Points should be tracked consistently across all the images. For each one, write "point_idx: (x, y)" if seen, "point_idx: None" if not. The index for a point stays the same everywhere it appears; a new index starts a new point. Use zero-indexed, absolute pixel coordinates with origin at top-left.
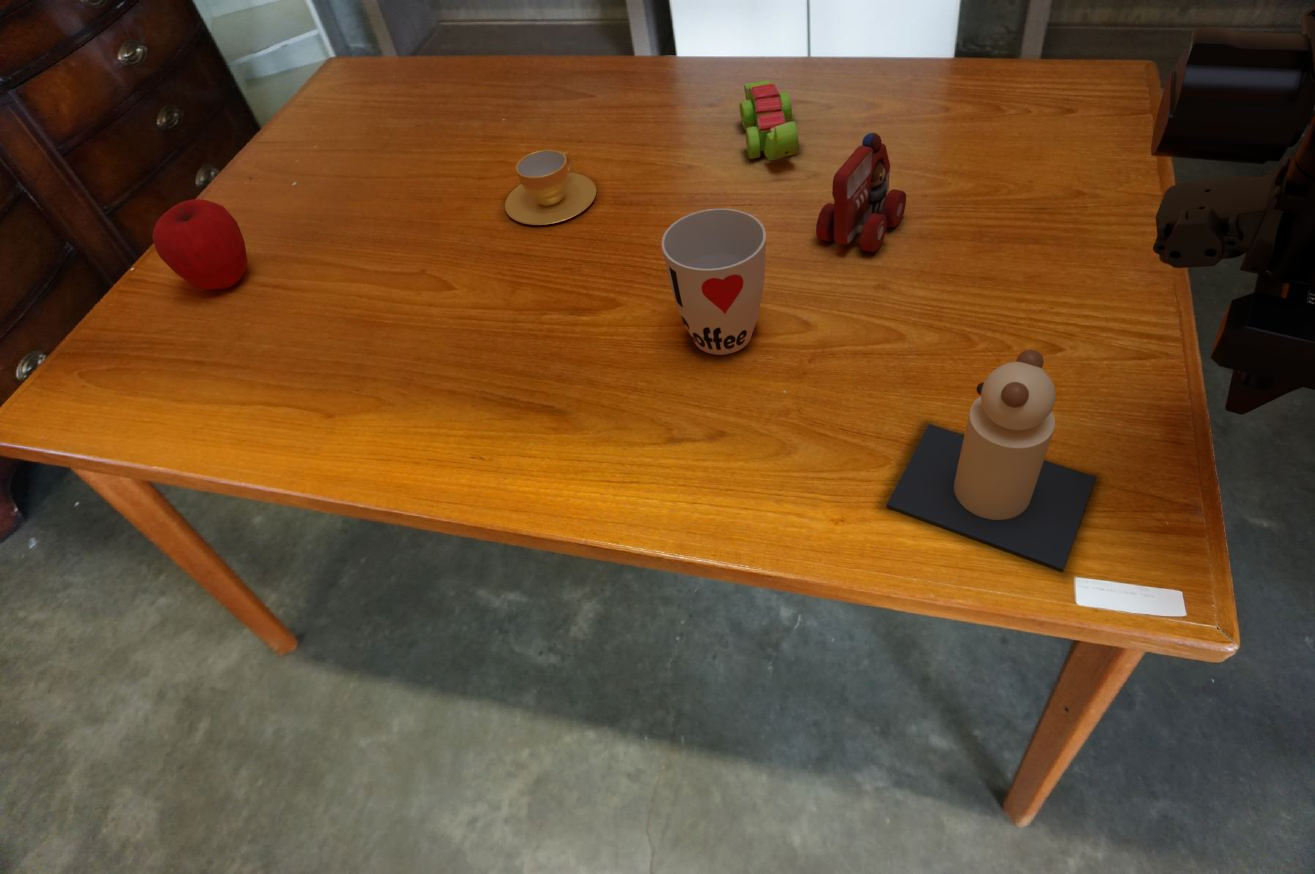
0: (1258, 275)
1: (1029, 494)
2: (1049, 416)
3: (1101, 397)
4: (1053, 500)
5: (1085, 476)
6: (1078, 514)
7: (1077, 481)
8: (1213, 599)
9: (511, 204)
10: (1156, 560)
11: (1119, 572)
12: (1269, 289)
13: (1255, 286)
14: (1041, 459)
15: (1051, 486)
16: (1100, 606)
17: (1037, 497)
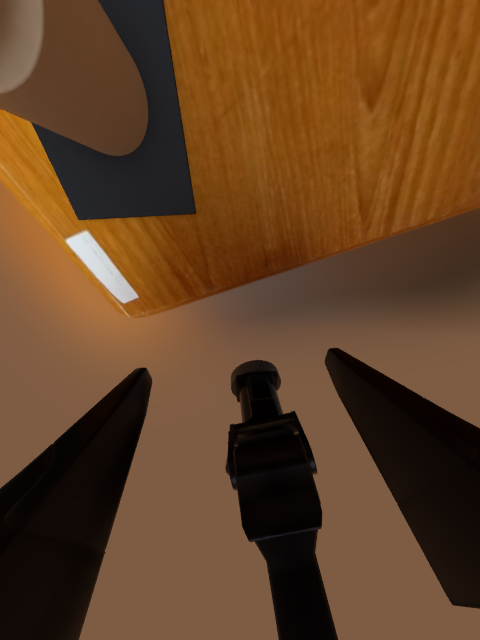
0: (423, 426)
1: (85, 145)
2: (10, 62)
3: (300, 185)
4: (141, 182)
5: (189, 203)
6: (144, 212)
7: (179, 198)
8: (147, 312)
9: None
10: (150, 278)
11: (120, 260)
12: (381, 416)
13: (392, 401)
14: (26, 119)
15: (156, 173)
16: (80, 257)
17: (132, 162)
